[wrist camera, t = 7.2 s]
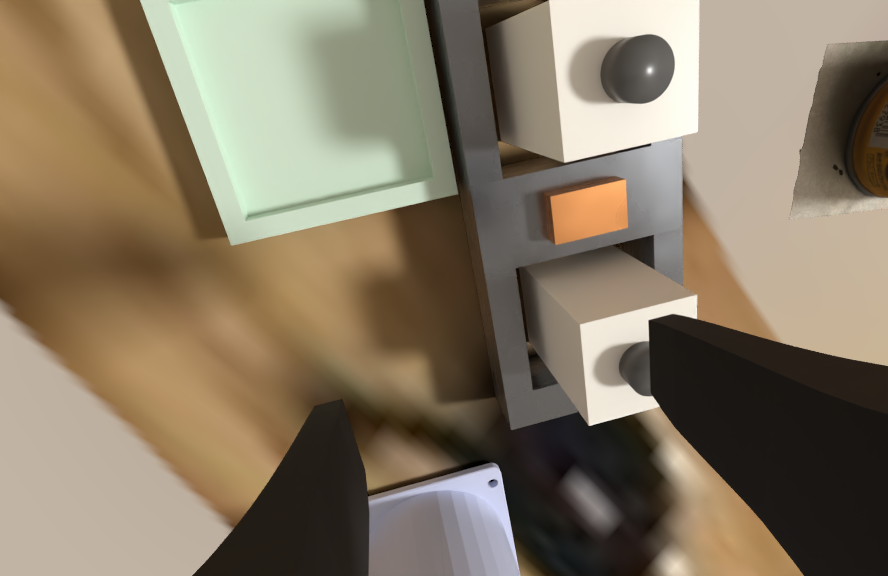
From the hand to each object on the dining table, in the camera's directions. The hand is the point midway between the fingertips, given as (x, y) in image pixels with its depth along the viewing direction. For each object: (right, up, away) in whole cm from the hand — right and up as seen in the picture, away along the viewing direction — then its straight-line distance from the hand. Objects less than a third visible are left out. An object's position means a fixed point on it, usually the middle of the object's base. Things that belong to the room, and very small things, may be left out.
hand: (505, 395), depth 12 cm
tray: (-6, +9, +7) cm, 13 cm away
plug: (+2, +11, +8) cm, 13 cm away
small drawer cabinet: (+3, +6, +10) cm, 12 cm away
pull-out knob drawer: (+4, +2, +11) cm, 12 cm away
